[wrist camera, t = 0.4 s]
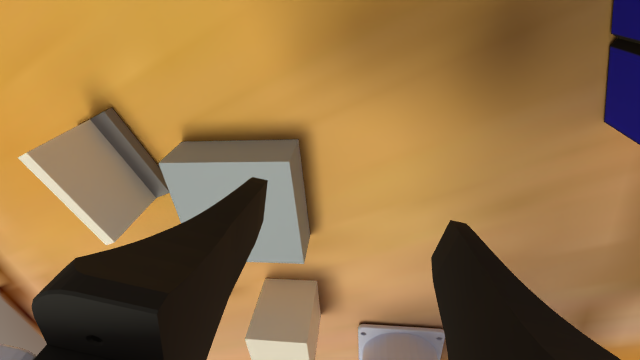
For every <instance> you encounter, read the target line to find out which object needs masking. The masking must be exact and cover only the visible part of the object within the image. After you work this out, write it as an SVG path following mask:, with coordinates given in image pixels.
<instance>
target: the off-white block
mask: <svg viewBox="0 0 640 360" xmlns="http://www.w3.org/2000/svg"><path fill="white" fill-rule="evenodd" d="M320 318H321V311H320V303H319V294H318V285H317V281H312V280H290V279H268V278H265V281H264V284H263V287H262V290H261V292H260V295H259V298H258V301H257V304H256V307H255V310H254V313H253V316H252V319H251V322H250V325H249V328H248V331H247V334H246V337H245V341H246V344H247V347H248V350H249V353H250V356H251V359H252V360H315V354H316V347H317V340H318V332H319V325H320Z"/></svg>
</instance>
